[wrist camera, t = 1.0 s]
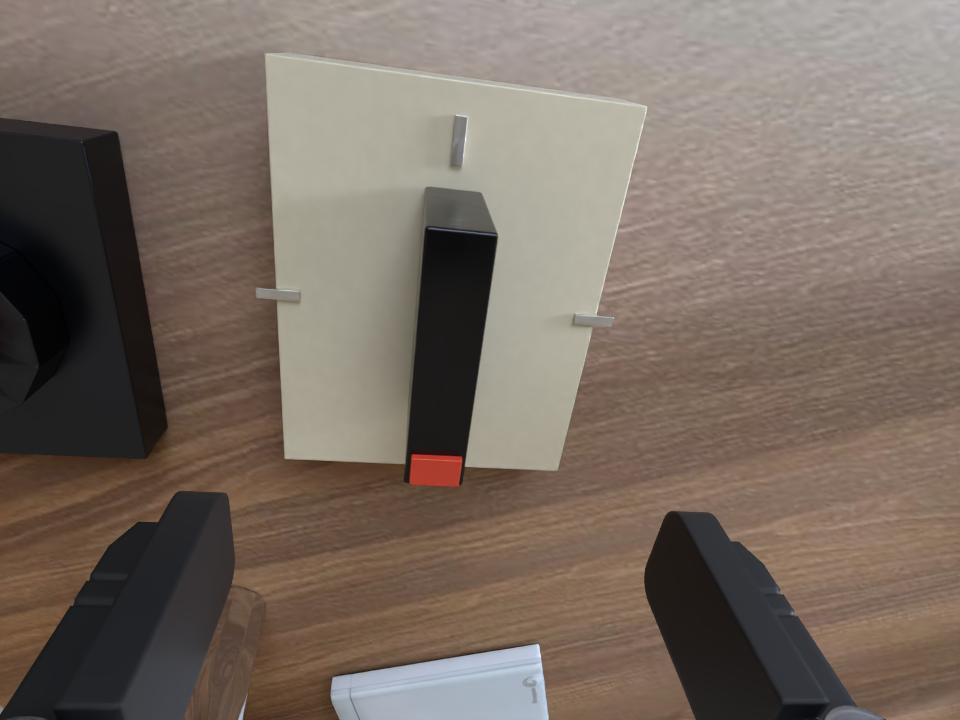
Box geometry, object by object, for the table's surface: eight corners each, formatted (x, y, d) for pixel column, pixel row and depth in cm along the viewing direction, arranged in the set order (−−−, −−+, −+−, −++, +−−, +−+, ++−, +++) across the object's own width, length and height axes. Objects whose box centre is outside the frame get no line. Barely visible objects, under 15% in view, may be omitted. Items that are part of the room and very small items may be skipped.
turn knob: (424, 185, 17) (424, 229, 13) (482, 191, 17) (500, 237, 13) (407, 402, 21) (403, 490, 17) (455, 405, 21) (462, 492, 17)
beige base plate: (267, 49, 18) (238, 49, 15) (634, 100, 19) (669, 109, 17) (285, 414, 24) (267, 461, 22) (557, 429, 26) (572, 474, 23)
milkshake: (227, 650, 32) (152, 879, 23) (171, 592, 29) (63, 826, 20) (301, 627, 31) (253, 852, 23) (251, 567, 29) (175, 794, 20)
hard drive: (542, 665, 32) (328, 700, 32) (551, 740, 36) (361, 772, 36) (537, 639, 34) (332, 672, 33) (546, 714, 38) (363, 744, 37)
